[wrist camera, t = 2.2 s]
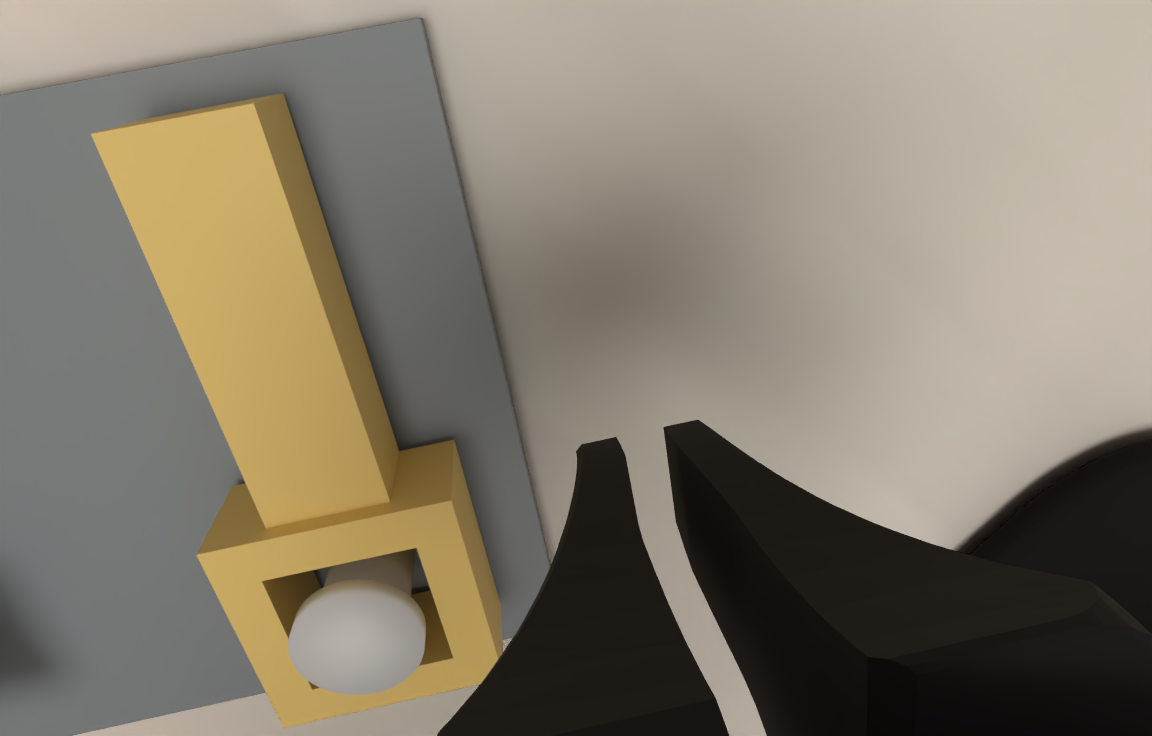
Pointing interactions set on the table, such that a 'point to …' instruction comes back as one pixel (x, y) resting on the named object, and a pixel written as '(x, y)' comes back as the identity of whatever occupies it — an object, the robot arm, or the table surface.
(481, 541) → the link
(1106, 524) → the desk fan
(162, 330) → the base
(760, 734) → the table surface
